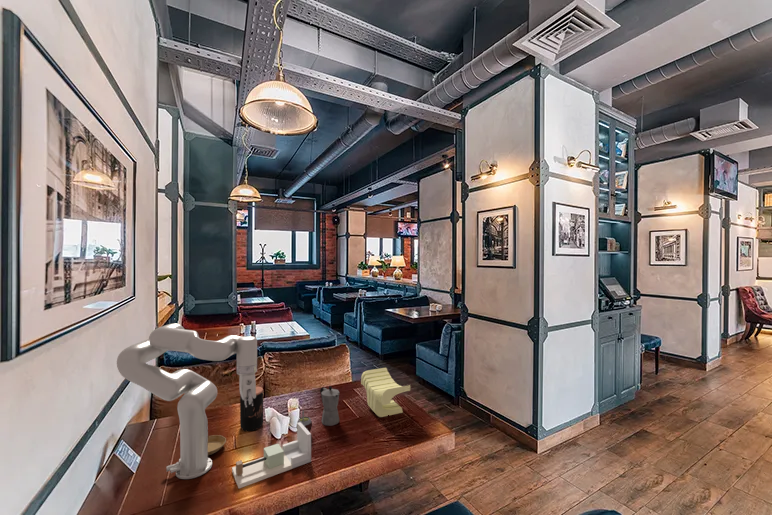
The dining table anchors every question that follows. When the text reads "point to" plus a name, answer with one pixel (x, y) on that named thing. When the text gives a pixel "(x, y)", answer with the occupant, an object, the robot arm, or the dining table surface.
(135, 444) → the dining table surface
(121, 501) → the dining table surface
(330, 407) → the coffeepot
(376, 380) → the slatted curved stool
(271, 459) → the cord block
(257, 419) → the coffee jar
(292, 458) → the shelf lane
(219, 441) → the plant saucer
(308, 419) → the mate gourd
